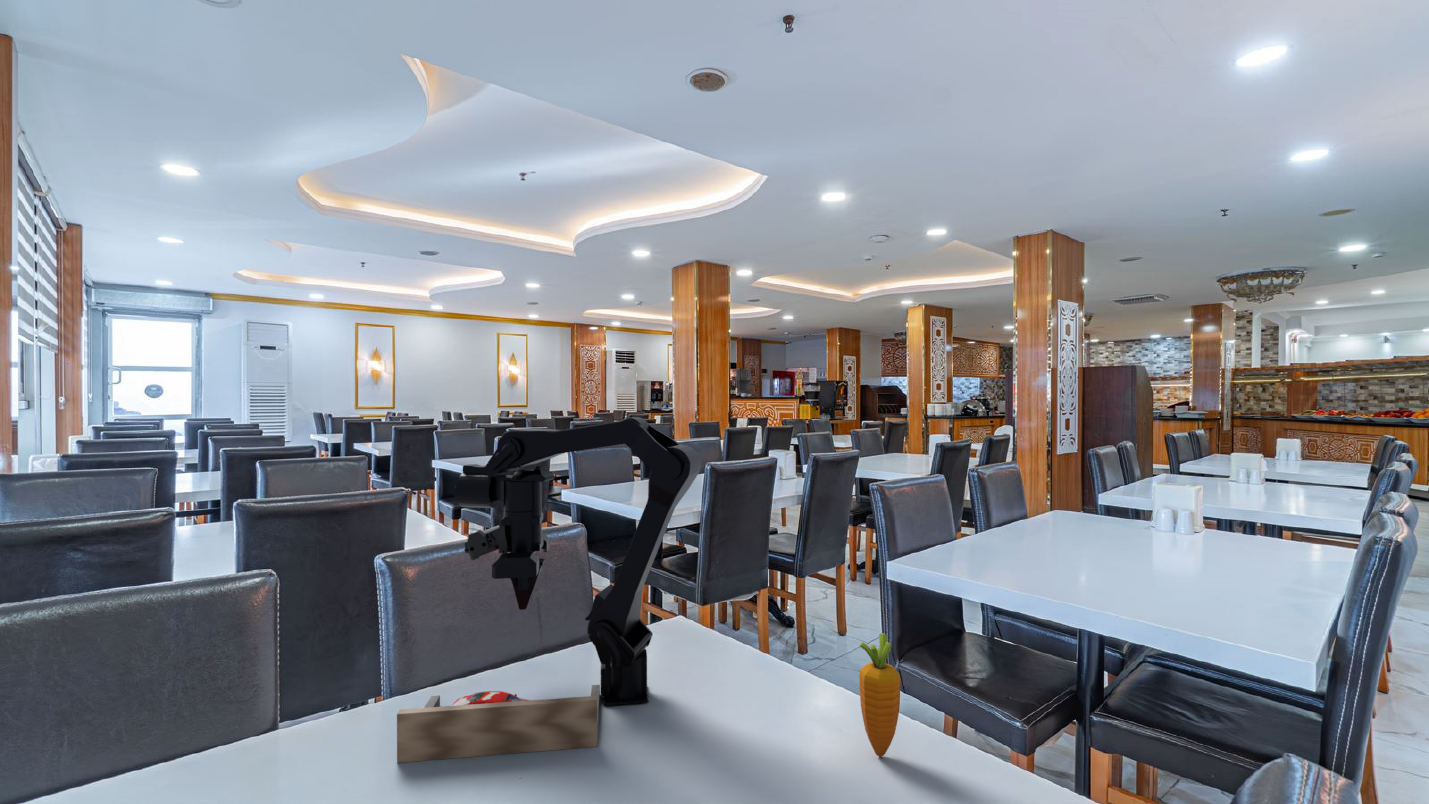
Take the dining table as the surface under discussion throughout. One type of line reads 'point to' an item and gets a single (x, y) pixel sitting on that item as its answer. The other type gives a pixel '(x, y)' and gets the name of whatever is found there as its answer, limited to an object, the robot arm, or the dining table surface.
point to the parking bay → (497, 728)
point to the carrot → (879, 696)
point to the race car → (487, 698)
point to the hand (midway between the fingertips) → (523, 609)
